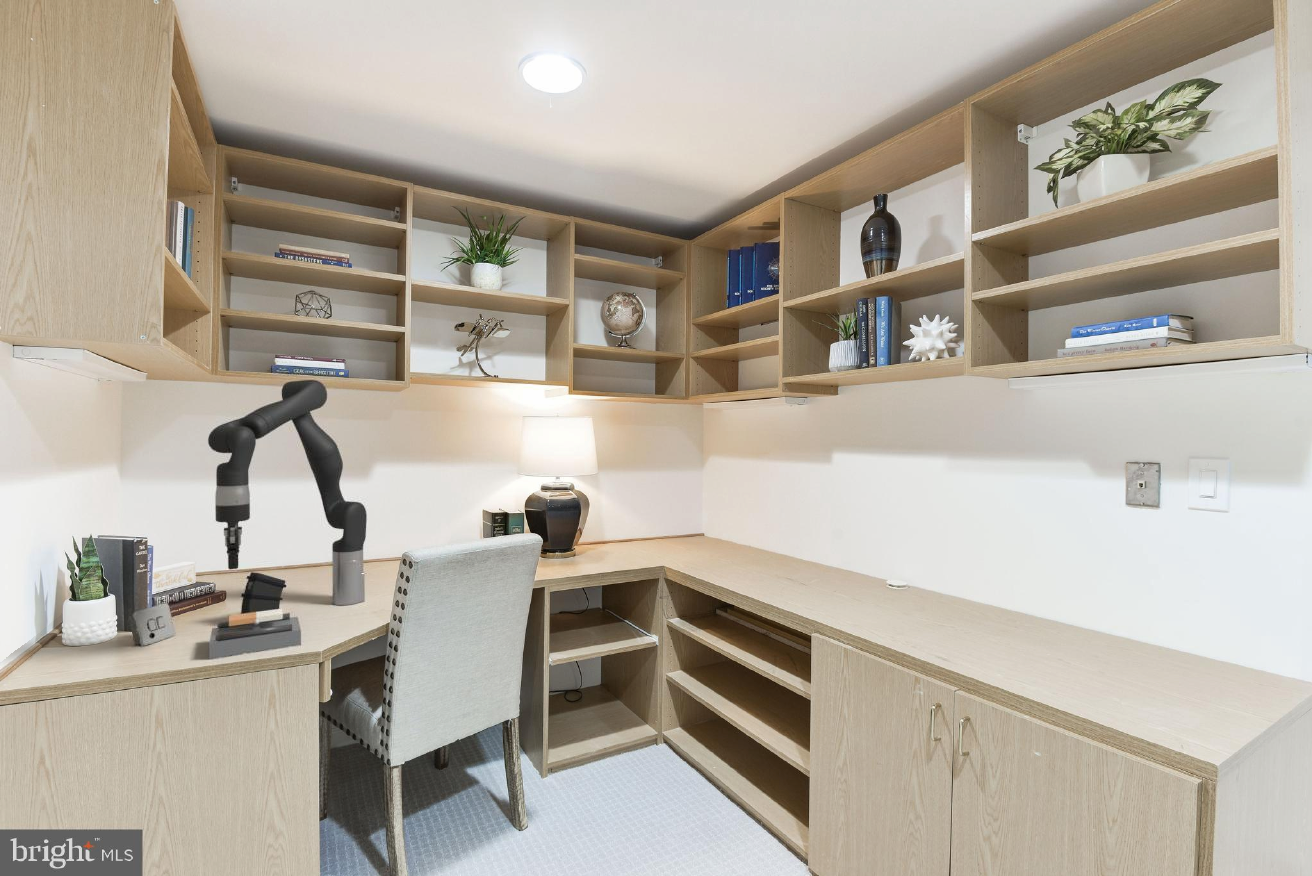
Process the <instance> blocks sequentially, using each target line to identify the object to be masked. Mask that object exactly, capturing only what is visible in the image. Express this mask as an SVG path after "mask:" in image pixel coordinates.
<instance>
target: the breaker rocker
mask: <svg viewBox="0 0 1312 876" xmlns="http://www.w3.org/2000/svg"><path fill="white" fill-rule="evenodd" d="M283 614H284V613H283V608H279V609H275V610H268V611H260V612H252V613H245V614H241V613H239V614H230V615H229V616H228V617H229V618H228V621H229V626H235V625H242V624H250V623H254V625H258V624H259V622H264V621H271V620H279V619H283Z"/></svg>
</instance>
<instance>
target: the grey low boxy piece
mask: <svg viewBox="0 0 1312 876" xmlns="http://www.w3.org/2000/svg"><path fill="white" fill-rule="evenodd" d="M216 625H217V627H212V628H211V632H210V637H209V638H210V639H209V642H208V643H209V644H208V648H209V654H208V655H209V656H208V657H209V660H213V659H212V658H215V659H220V657H221V658H225V657H224V656H228V657H231V656H230V655H234V656H239V655H238V654H240V655H244V654H243V653H247V654H252V653H251V652H253V653H256V652H255V651H259V652H264V650H266V651H270V650H269V649H272V650H277V648H278V649H283V648H290V647H289V646H291V647H297V646H301V645H302V629H301V624H300V620H299V618H298V616H293V617H292V616H291V614H290V612H287V613H283V619H279V620H271V621H264V622H259V624H258V625H254V623H250V624H242V625H235V626H229V620H227V621H221V622H219V623H217V624H216ZM300 644H301V645H300Z"/></svg>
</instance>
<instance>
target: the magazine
mask: <svg viewBox="0 0 1312 876" xmlns="http://www.w3.org/2000/svg"><path fill="white" fill-rule="evenodd" d="M246 579H247V583H246V585H245V588H244V592H243V593H241V595H240V597H241V598H242V603H241V608H240V609H241V610H240V614H245V613H252V612H260V611H268V610H275V609H280V605H281V601H283V599H284V598H283V597H282V593H283V590H284V588H287V584H286V580H284V579H281V578H277V577H273V576H271V575H267V574H263V573H260V572H254V571H251V572H250V574H249V575H247V576H246Z"/></svg>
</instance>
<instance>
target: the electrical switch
mask: <svg viewBox="0 0 1312 876" xmlns="http://www.w3.org/2000/svg"><path fill="white" fill-rule="evenodd" d="M127 618H128V619H127V620H128V623H129V626H130V631H131V635H132V638H133V642H134V645H135V646H136V645H140V646H142V647H146V646H148V644H149V645H152V644H155V643H156V642H160V641H162V640H166V639H169V638H171V637H173V636H175V635H176V633H177V632H176V630H175V625H174V621H173V617H172V614H171V608H170V605H169V604H168V603H161V604H158V605H154V606H151V607H148V608H143V609H140V610H137V611H134V613H133V614H132V615H131V616H128V617H127Z"/></svg>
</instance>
